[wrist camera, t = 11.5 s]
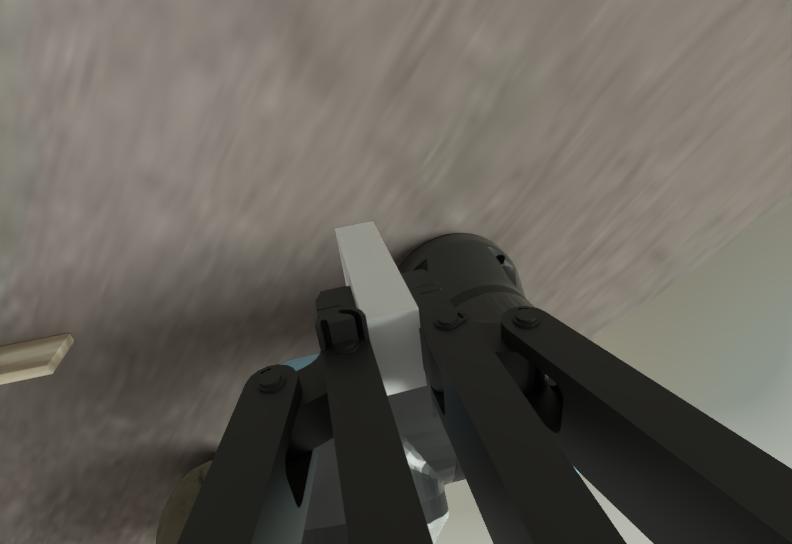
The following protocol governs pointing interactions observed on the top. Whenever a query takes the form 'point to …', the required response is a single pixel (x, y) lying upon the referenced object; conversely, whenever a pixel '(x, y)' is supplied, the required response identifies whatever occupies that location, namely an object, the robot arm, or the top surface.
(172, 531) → the cantaloupe
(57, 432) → the top surface
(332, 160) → the top surface
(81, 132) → the top surface
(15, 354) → the corral
